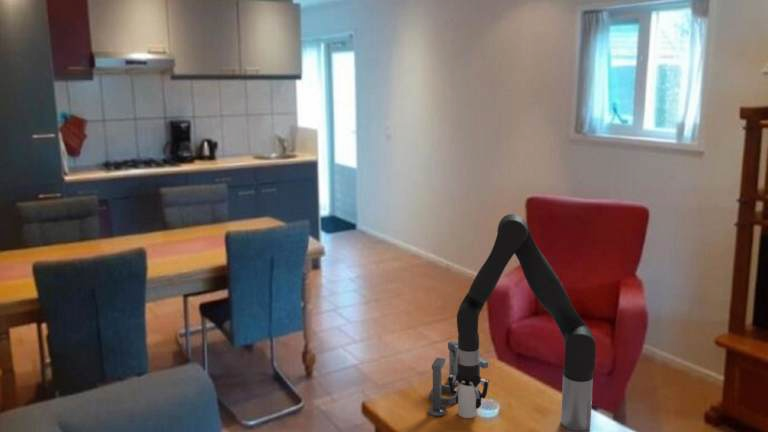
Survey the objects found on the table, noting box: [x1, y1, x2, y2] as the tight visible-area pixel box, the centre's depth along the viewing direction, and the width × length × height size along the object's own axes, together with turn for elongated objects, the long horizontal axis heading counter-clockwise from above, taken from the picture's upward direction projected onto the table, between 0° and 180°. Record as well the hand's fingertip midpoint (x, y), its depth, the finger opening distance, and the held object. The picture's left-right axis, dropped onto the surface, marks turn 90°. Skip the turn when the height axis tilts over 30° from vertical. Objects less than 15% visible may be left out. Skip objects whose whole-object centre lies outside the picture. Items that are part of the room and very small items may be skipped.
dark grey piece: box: [427, 357, 447, 418], centre depth 213 cm, size 6×8×18 cm
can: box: [457, 383, 478, 419], centre depth 211 cm, size 6×6×12 cm
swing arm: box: [447, 340, 489, 370], centre depth 224 cm, size 21×4×2 cm, turn 30°
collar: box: [429, 384, 458, 407], centre depth 223 cm, size 10×10×2 cm
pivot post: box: [446, 349, 459, 387], centre depth 233 cm, size 5×5×14 cm
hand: (468, 406), depth 212 cm, fingers closed on can, 5 cm apart
